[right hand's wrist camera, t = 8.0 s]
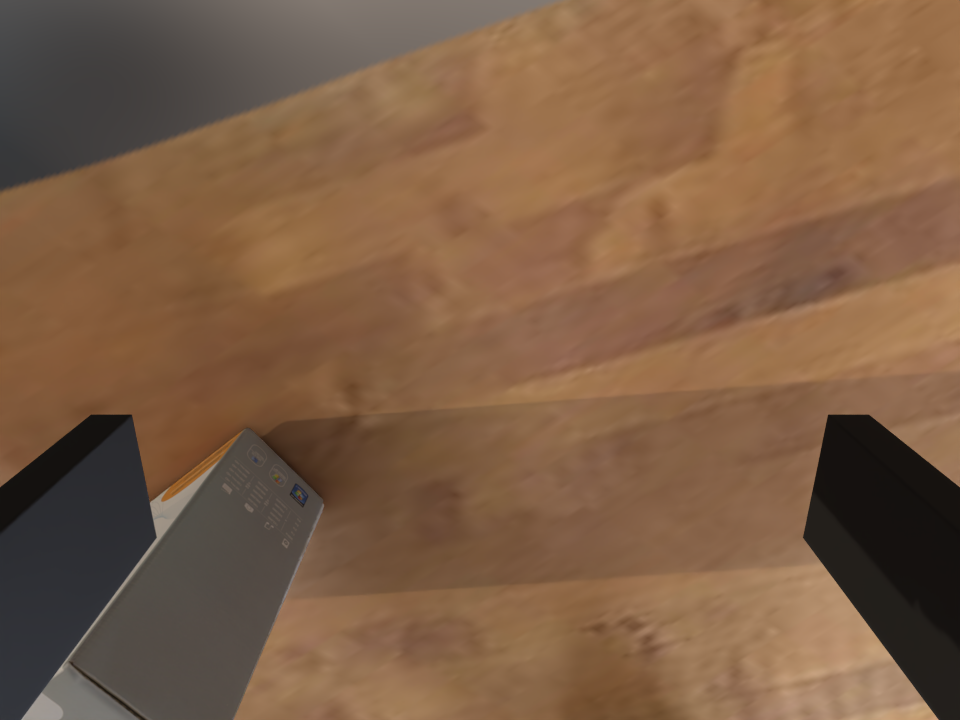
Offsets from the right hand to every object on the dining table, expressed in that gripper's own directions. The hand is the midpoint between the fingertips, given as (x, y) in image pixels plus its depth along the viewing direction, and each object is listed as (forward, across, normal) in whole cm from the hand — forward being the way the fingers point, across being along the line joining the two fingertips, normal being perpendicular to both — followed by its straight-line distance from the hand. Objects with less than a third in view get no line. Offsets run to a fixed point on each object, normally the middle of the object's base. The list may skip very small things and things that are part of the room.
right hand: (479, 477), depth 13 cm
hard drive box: (+28, +19, +20) cm, 39 cm away
